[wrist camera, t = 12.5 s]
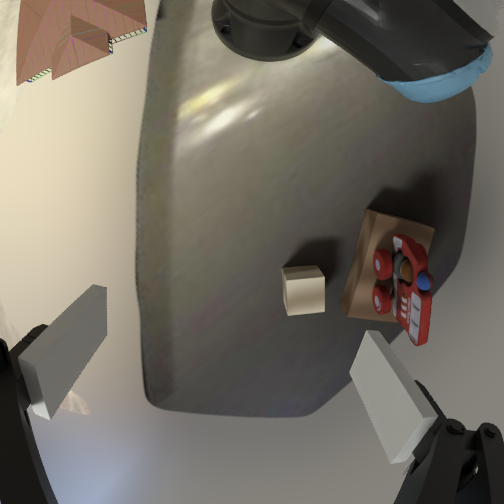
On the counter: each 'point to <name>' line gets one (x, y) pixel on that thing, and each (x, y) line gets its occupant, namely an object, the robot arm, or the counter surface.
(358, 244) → the plinth
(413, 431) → the robot arm
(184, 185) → the counter surface
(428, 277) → the toy fire truck
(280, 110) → the counter surface
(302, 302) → the birch block
